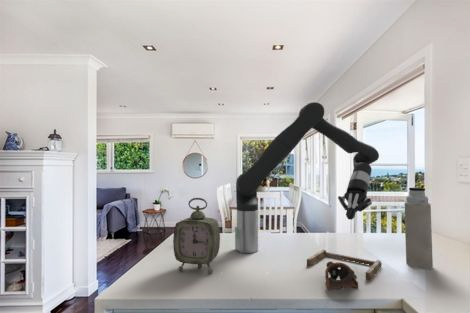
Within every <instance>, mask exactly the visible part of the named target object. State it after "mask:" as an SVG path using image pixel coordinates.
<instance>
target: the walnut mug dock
mask: <svg viewBox="0 0 470 313" xmlns="http://www.w3.org/2000/svg"><path fill="white" fill-rule="evenodd" d="M326 257H327V258H332V259H336V258H337V259H336V260H341V259H344V260H343V261H346V260H349V261H348V262H350V261H355V262H359V263H358V264H360V263H364V264H363V265H365V264H369V265H372V266H369V265H368V266H369V268H368V269H367V270H366V271H365V281H366V282H369V281H370V282H371V281H372V280H373V278H374V277H375V276H376V275H377V274H378V272H379V271H380V270H381V268H382V267H381V266H382V265H383V263H382V261H381V260H380V259H377V260H375V261H374V260H370V259H364V258H360V257H355V256H350V255H345V254H341V253H340V254H339V253H336V252H335V253H334V252H330V251H327V250H326V249H322V250H320V251H318V252H317V253H315V254H313V255H311V256H309V257H308V258H306V267H308V268H311V267H313V266H314V265H315V264H317V263H318V262H320V261H322V260H323V259H325V258H326ZM355 262H354V263H355ZM379 269H380V270H379ZM378 270H379V271H378ZM377 271H378V272H377ZM375 274H376V275H375ZM374 275H375V276H374ZM371 279H372V280H371Z"/></svg>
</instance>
